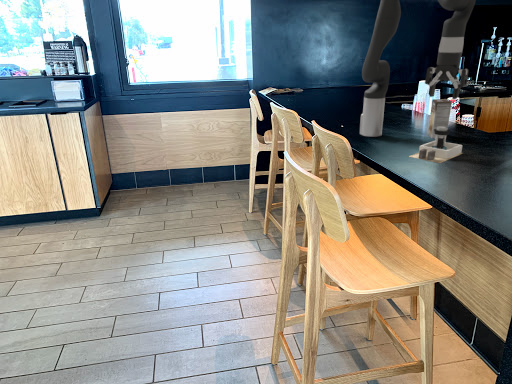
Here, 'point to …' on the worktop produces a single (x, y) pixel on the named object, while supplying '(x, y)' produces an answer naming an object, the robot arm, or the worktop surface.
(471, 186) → the worktop surface
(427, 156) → the board
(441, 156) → the white open box
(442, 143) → the push button
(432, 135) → the coffee box
